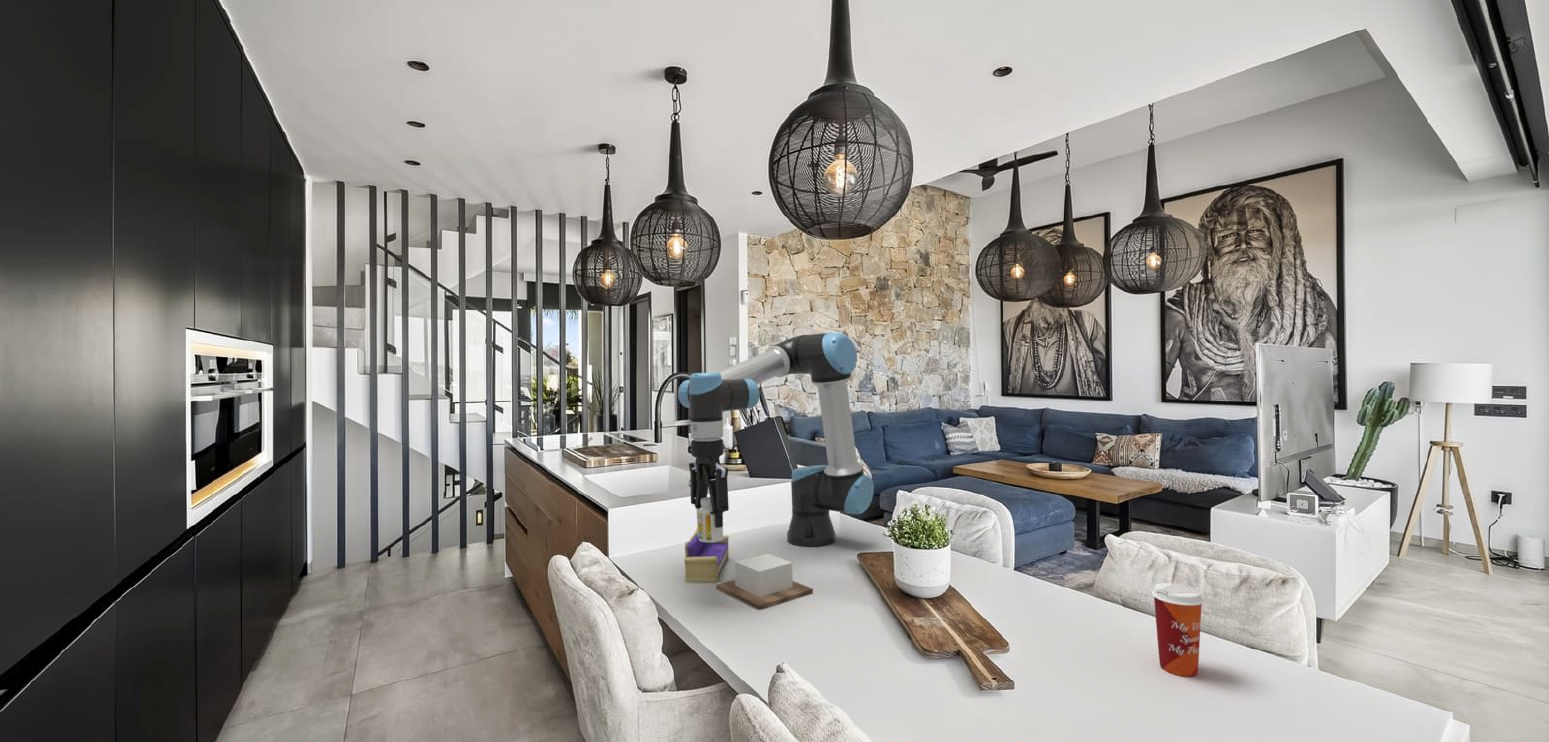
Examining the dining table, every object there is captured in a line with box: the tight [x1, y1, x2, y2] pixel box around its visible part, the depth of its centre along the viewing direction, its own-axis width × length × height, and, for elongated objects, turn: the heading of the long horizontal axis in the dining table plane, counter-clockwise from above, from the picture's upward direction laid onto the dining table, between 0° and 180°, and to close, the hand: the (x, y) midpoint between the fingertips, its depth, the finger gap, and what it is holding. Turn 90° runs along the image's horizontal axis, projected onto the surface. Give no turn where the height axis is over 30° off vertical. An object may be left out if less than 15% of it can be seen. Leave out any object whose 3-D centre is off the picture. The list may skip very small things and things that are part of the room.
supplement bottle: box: [698, 496, 713, 542], centre depth 146 cm, size 5×5×10 cm
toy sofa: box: [684, 528, 730, 583], centre depth 170 cm, size 21×9×10 cm, turn 176°
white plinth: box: [734, 553, 794, 597], centre depth 153 cm, size 10×10×6 cm
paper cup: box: [1151, 582, 1205, 678], centre depth 110 cm, size 8×8×14 cm
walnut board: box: [715, 579, 814, 611], centre depth 153 cm, size 16×18×1 cm
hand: (710, 538), depth 146 cm, fingers closed on supplement bottle, 5 cm apart
